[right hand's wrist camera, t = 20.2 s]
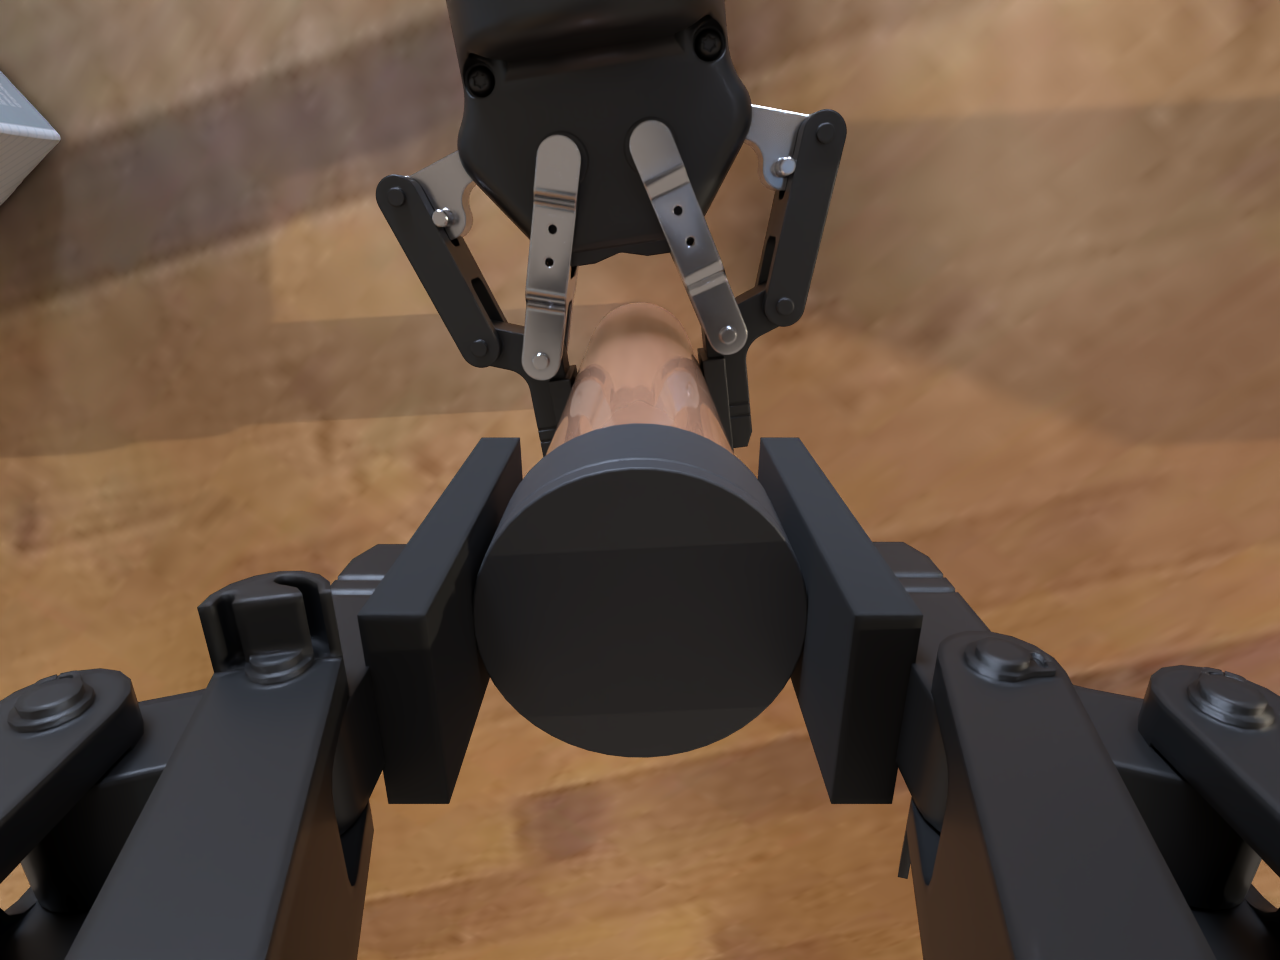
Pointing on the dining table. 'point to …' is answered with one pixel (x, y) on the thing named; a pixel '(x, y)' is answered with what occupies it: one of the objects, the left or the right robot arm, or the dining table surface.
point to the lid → (640, 594)
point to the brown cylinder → (640, 378)
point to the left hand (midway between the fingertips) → (651, 465)
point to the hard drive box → (20, 138)
